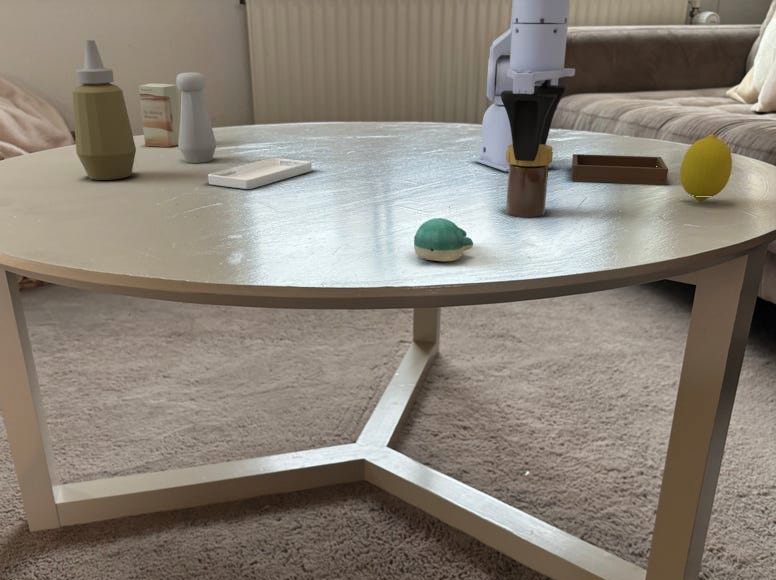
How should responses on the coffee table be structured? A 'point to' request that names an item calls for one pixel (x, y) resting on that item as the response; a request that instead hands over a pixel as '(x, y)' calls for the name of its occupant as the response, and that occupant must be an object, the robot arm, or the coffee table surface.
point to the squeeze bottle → (101, 121)
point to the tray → (619, 169)
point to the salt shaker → (194, 120)
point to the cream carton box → (160, 114)
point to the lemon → (706, 168)
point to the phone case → (259, 173)
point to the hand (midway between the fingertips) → (529, 156)
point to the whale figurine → (441, 240)
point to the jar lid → (541, 159)
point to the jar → (527, 190)
